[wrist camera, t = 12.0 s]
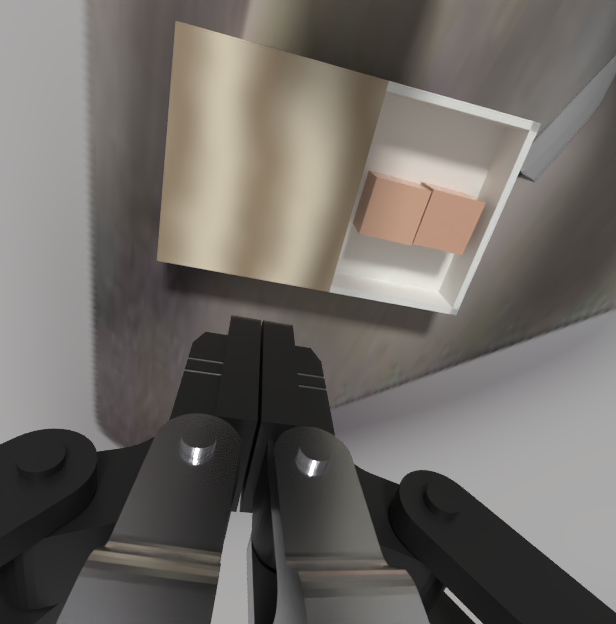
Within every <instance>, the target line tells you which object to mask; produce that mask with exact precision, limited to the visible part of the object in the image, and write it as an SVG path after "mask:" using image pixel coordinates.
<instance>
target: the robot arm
mask: <svg viewBox="0 0 616 624" xmlns="http://www.w3.org/2000/svg"><path fill="white" fill-rule="evenodd" d="M323 377H324V375H323V369H322V364H321V361H320V360H319V358H318V357H317V356H316V354H315V353H314V352H313V351H312V349H311V348H306V347H300V346H295V342H294V332H293V325H288V324H282V323H276V322H270V321H264V320H263V322H262V326H261V320H257V319H251V318H245V317H239V316H233V315H231V321H230V327H229V333H228V335H223V334H216V333H210V332H205V333H204V334H202V335H201V336H200V337H199V338H198V339H196V340H195V341H194V342H193V344H192V347H191V351H190V354H189V358H188V360H187V364H186V367H185V371H184V374H183V377H182V380H181V384H180V387H179V390H178V394H177V397H176V400H175V404H174V407H173V410H172V414H171V417H170V419H169V421H168V422H166V423H165V424H164V425H163V426H162V427H161V428H160V429H159V430H158V432H157V433H156V435H155V437H153V438H151V439H150V440H148V441H145V442H143V443H141V444H138V445H135V446H131V447H126V448H120V449H114V450H106V451H99V452H96V448H95V447H94V445H93V443H92V442H91V441H90V440H89V439H88V438H86V437H85V436H84V435H82V434H80V433H77V432H74V431H71V430H65V429H43V430H38V431H33V432H29V433H26V434H23V435H21V436H18V437H16V438H14V439H11V440H9V441H7V442H5V443H3V444H0V624H210V623H211V618H212V612H213V607H214V601H215V595H216V589H217V584H218V578H219V572H220V565H221V564H220V560H221V554H222V549H223V543H224V539H225V535H226V531H227V526H228V522H229V518H230V513H231V511H234V512H236V510H237V506H238V502H239V497H240V493H241V501H240V512H249V513H253V516H252V532H251V537H250V540H249V544H248V548H247V583H248V618H249V619H248V621H249V624H475V623H474V622H473V621H472V620H471V619H470V618H469V617H468V616H467V615H466V614H465V613H464V612H463V611H462V610H461V609H460V608H459V607H458V606H457V605H456V604H455V603H454V601H453V600H452V599H451V598H450V597H448V596H447V594H445V592H444V590H445V588H446V587H447V588H448V589H449V590H450V591H451V592H452V593H453V594H454V595H455V596H456V597H457V598H458V599H459V600H460V601H461V602H462V603H463V604H464V605H465V606H466V607H467V608H468V609H469V610H470V611H471V612H472V613H473V614H474V615H475V616H476V617H477V618H478V619H479V620H480V621H481V622H482V623H483V624H616V613H615V612H614V611H613V610H611V609H610V608H609V607H608V606H607V605H605V604H604V603H603V602H602V601H601V600H599V599H598V598H597V597H596V596H594V595H593V594H592V593H591V592H590V591H588V590H587V589H586V588H585V587H583V586H582V585H581V584H580V583H578V582H577V581H576V580H575V579H574V578H572V577H571V576H570V575H569V574H567V573H566V572H565V571H564V570H562V569H561V568H560V567H559V566H558V565H557V564H555V563H554V562H553V561H552V560H550V559H549V558H548V557H547V556H546V555H544V554H543V553H542V552H541V551H539V550H538V549H537V548H536V547H534V546H533V545H532V544H531V543H530V542H528V541H527V540H526V539H525V538H523V537H522V536H521V535H520V534H519V533H517V532H516V531H515V530H514V529H512V528H511V527H510V526H509V525H508V524H506V523H505V522H504V521H503V520H501V519H500V518H499V517H498V516H497V515H495V514H494V513H493V512H491V511H490V510H489V509H488V508H487V507H485V506H484V505H483V504H482V503H481V502H479V501H478V500H477V499H476V498H475V497H473V496H472V495H471V494H470V493H468V492H467V491H466V490H465V489H463V488H462V487H461V486H460V485H458V484H457V483H456V482H454V481H453V480H451V479H449V478H448V477H446V476H444V475H441V474H439V473H436V472H432V471H426V470H419V471H414V472H411V473H409V474H407V475H406V476H405V477H404V478H403V479H402V481H401V483H400V485H399V484H397V483H394V482H391V481H389V480H386V479H384V478H381V477H378V476H376V475H373V474H371V473H369V472H366V471H364V470H363V469H361V468H359V467H358V466H356V465H355V464H354V463H353V460H352V456H351V454H350V452H349V450H348V449H347V447H346V446H345V445H344V444H343V442H342V441H340V440H339V439H338V438H337V437H335V434H334V428H333V423H332V417H331V412H330V407H329V401H328V396H327V391H326V385H325V380H324V379H323Z"/></svg>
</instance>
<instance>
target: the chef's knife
mask: <svg viewBox="0 0 616 624" xmlns="http://www.w3.org/2000/svg"><path fill="white" fill-rule="evenodd" d="M615 74H616V55H615V56H614V57H613V58H612V59H611V60H610V61H609V62H608V63H607V64H606V65H605V66H604V67H603V68H602V69H601V70H600V71H599V72H598V73H597V75H596V76H595V77H594V78H593V79H592V80H591V81H590V82H589V83H588V84H587V85H586V86H585V87H584V88H583V89H582V90H581V91H580V92H579V93H578V94H577V95H576V96H575V97H574V98H573V99H572V100H571V101H570V102H569V104H568V105H567V106H566V107H565V108H564V109H563V110H562V111H561V112H560V113H559V114H558V115H557V116H556V117H555V118H554V119H553V120H552V121H551V122H550V123H549V125H548V126H547V127H546V128H545V129H544V130H543V131H542V132H541V133H540V134H539V135H538V136H537V137H536V138H535V139H534V140H533V142H532V145H531V147H530V149H529V152H528V154H527V156H526V158H525V161H524V163H523V165H522V167H521V170H520V172H519V174H518V175H524V176H525V177H527V178H528V179H530V180H532V181H534V182H535V181H536V180H537V179H538V178H539V177H540V175H541V174H542V173H543V172H544V171H545V170H546V168H547V167H548V166H549V165H550V164H551V163H552V161H553V160H554V159H555V158H556V157H557V156H558V154H559V153H560V152H561V151H562V150H563V149H564V147H565V146H566V145H567V144H568V143H569V142H570V140H571V139H572V138H573V137H574V136H575V135H576V133H577V132H578V131H579V130H580V129H581V128H582V126H583V125H584V124H585V123H586V122H587V121H588V119H589V118H590V117H591V115H592V114H593V113H594V111H595V110H596V109H597V107H598V106H599V105H600V103H601V102H602V100H603V98H604V96H605V94H606V92H607V90H608V88H609V87H610V85H611V83H612V81H613V79H614V77H615Z"/></svg>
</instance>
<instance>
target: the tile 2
mask: <svg viewBox="0 0 616 624" xmlns="http://www.w3.org/2000/svg"><path fill="white" fill-rule="evenodd" d="M421 185H423V186H424V187H426V188H427V189H429V190H430V191H432V192H431V194H430V197H429V200H428V202H427V205H426V208H425V210H424V213H423V216H422V218H421V221H420V224H419V226H418V229H417V232H416V234H415V237H414V239H413V242H412V243H413V244H415V245H420V246H424V247H428V248H432V249H436V250H441V251H445V252H449V253H453V254H458V255H463V253H464V251H465V248H466V246H467V244H468V242H469V240H470V237H471V235H472V233H473V231H474V228H475V226H476V224H477V222H478V219H479V217H480V215H481V213H482V210H483V208H484V206H485V204H486V203H485V202H483V201H481V200H479V199H477V198H475V197H474V196H472V195H470V194H466V193H462V192H459V191H455V190H451V189H447V188H444V187H440V186H436V185H432V184H429V183H425V182H421Z"/></svg>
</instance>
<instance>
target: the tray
mask: <svg viewBox="0 0 616 624" xmlns="http://www.w3.org/2000/svg"><path fill="white" fill-rule="evenodd" d="M540 124H541V123H537V122H534V121H530V120H527V119H523V118H520V117H516V116H513V115H509V114H505V113H502V112H498V111H495V110H491V109H488V108H484V107H481V106H477V105H473V104H470V103H466V102H463V101H459V100H456V99H452V98H449V97H445V96H441V95H438V94H434V93H431V92H427V91H424V90H420V89H417V88H413V87H409V86H406V85H402V84H399V83H395V82H392V81H389V83H388V86H387V90H386V93H385V97H384V100H383V104H382V107H381V111H380V115H379V118H378V122H377V125H376V129H375V132H374V136H373V139H372V143H371V146H370V150H369V153H368V157H367V160H366V164H365V168H364V171H363V175H362V178H361V182H360V185H359V189H358V192H357V196H356V199H355V203H354V206H353V210H352V213H351V217H350V221H349V224H348V228H347V231H346V235H345V238H344V242H343V245H342V249H341V252H340V256H339V259H338V263H337V267H336V270H335V274H334V277H333V281H332V284H331V288H330V291H329V292H331V293H337V294H342V295H348V296H353V297H359V298H364V299H369V300H375V301H380V302H386V303H391V304H397V305H402V306H408V307H413V308H419V309H424V310H430V311H435V312H441V313H446V314H452V315H456V314H457V312H458V309H459V307H460V305H461V303H462V300H463V298H464V296H465V294H466V291H467V289H468V287H469V285H470V282H471V280H472V278H473V276H474V273H475V271H476V269H477V267H478V264H479V262H480V260H481V258H482V255H483V253H484V251H485V248H486V246H487V244H488V242H489V239H490V237H491V235H492V233H493V230H494V228H495V226H496V224H497V221H498V219H499V217H500V215H501V212H502V210H503V208H504V206H505V203H506V201H507V199H508V197H509V194H510V192H511V190H512V188H513V185H514V183H515V181H516V179H517V176H518V174H519V172H520V170H521V167H522V165H523V163H524V161H525V158H526V156H527V154H528V152H529V149H530V147H531V145H532V142H533V140H534V138H535V136H536V133H537V131H538V129H539V127H540ZM368 171H373V172H377V173H381V174H385V175H389V176H393V177H396V178H400V179H404V180H408V181H412V182H416V183H420V184H421V182H425V183H429V184H432V185H436V186H440V187H444V188H447V189H451V190H455V191H459V192H462V193H466V194H470V195H472V196H474V197H475V198H477V199H479V200H481V201H483V202H485V203H486V204H485V206H484V208H483V210H482V213H481V215H480V217H479V219H478V222H477V224H476V226H475V228H474V231H473V233H472V235H471V237H470V240H469V242H468V244H467V246H466V248H465V251H464V253H463V255H458V254H453V253H449V252H445V251H441V250H436V249H432V248H428V247H424V246H420V245H415V244H413V243H412V245H411V246H410V245H405V244H401V243H397V242H392V241H388V240H384V239H379V238H375V237H370V236H366V235H362V234H359V233H358V231H357V230H356V228H355V226H354V225H353V221H354V217H355V214H356V211H357V207H358V204H359V201H360V198H361V194H362V191H363V188H364V184H365V181H366V178H367V175H368Z"/></svg>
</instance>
